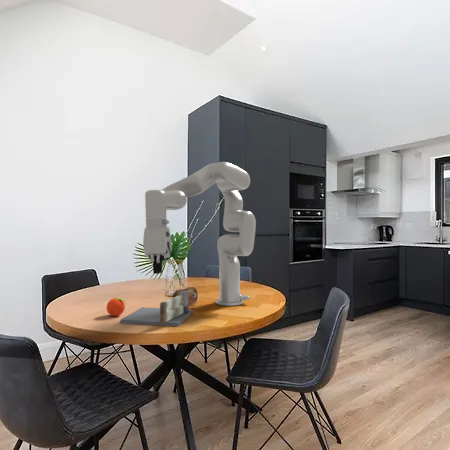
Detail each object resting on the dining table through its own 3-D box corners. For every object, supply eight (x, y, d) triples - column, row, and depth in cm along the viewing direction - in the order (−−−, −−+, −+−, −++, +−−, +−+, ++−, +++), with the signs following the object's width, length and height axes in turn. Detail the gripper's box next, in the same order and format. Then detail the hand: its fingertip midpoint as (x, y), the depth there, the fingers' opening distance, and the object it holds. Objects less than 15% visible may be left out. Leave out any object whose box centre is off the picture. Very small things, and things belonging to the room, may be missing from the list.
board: (192, 312, 136) (192, 309, 136) (178, 326, 117) (178, 322, 117) (142, 310, 139) (142, 307, 139) (120, 323, 121) (120, 319, 121)
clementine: (130, 314, 133) (130, 296, 133) (122, 318, 127) (122, 300, 127) (112, 313, 135) (112, 295, 135) (103, 317, 128) (103, 299, 128)
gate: (180, 312, 129) (180, 294, 130) (184, 312, 129) (184, 294, 129) (160, 322, 115) (160, 302, 115) (164, 323, 115) (164, 303, 115)
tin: (176, 311, 138) (176, 291, 138) (170, 310, 140) (170, 290, 140) (198, 304, 151) (198, 285, 151) (192, 303, 153) (192, 285, 153)
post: (189, 314, 132) (189, 290, 132) (187, 316, 129) (187, 292, 129) (181, 314, 133) (182, 290, 133) (179, 316, 130) (179, 292, 130)
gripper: (179, 223, 123) (180, 272, 123) (146, 223, 129) (147, 270, 130) (167, 223, 116) (168, 275, 116) (133, 224, 122) (135, 273, 123)
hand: (157, 273), depth 123 cm, fingers closed
